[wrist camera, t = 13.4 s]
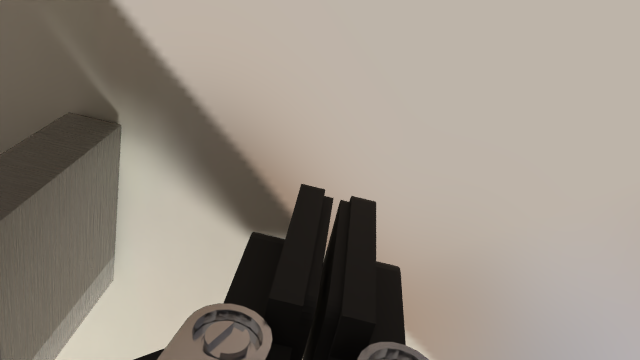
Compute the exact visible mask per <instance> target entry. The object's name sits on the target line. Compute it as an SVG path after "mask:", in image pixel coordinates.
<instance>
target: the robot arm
mask: <svg viewBox="0 0 640 360" xmlns="http://www.w3.org/2000/svg"><path fill="white" fill-rule="evenodd" d="M324 193H325V189H320V188H316V187H312V186H308V185H304V184H301V187H300V191H299V194H298V197H297V201H296V204H295V208H294V211H293V215H292V218H291V222H290V225H289V229H288V232H287V236H286V239H281V238H277V237H273V236H269V235H265V234H261V233H256V232H252V234H251V236H250V239H249V241H248V244H247V246H246V249H245V251H244V254H243V256H242V259H241V261H240V263H239V266H238V268H237V271H236V273H235V276H234V278H233V281H232V283H231V286H230V288H229V291H228V293H227V296H226V298H225V301H224V303H223V304H220V303H218V304H213V305H209V306H205V307H203V308H201V309H199V310H197V311H195V312H194V313H193V314H192V315H191V316H190V317H189V318H187V320H186V321H185V322H184V324H183V325H182V326H181V328H180V329H179V330H178V332H177V333H176V334H175V336H174V337H173V339H172V340H171V341H170V343H169V344H168V345H167V347H166V348H165V349H162V350H159V351H156V352H154V353H151V354H148V355H145V356H142V357H140V358H137V359H134V360H302V358H303V360H429V359H428V358H426V357H425V356H424V355H422V354H421V353H420V352H418V351H417V350H414V349H412V348H410V347H408V346H406V344H405V330H404V315H403V301H402V287H401V272H400V268H399V267H398V266H394V265H390V264H385V263H381V262H377V261H376V202H374V201H370V200H366V199H362V198H358V197H354V196H352V197H351V198H350V201H349V202H347V201H343V200H341V201H340V204H339V207H338V211H337V214H336V218H335V222H334V226H333V229H332V233H331V236H330V240H329V244H328V247H327V251H326V255H325V248H326V242H327V235H328V229H329V223H330V216H331V210H332V203H333V198H330V197H326V196H324ZM324 255H325V258H324ZM323 261H324V262H323Z"/></svg>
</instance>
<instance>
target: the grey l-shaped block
mask: <svg viewBox="0 0 640 360" xmlns="http://www.w3.org/2000/svg"><path fill="white" fill-rule="evenodd" d="M120 142H121V125H120V124H115V123H111V122H107V121H103V120H99V119H95V118H90V117H86V116H82V115H78V114H74V113H67V114H66V115H64V116H63V117H61V118H59V119H58V120H56V121H54V122H53V123H51V124H50V125H48V126H46V127H45V128H43V129H41V130H40V131H38V132H37V133H35V134H33V135H32V136H30V137H28V138H27V139H25V140H24V141H22V142H20V143H19V144H17V145H16V146H14V147H12V148H11V149H9V150H7V151H6V152H4V153H3V154H1V155H0V360H55V358H56V357H57V355H58V354H59V353H60V351H61V350H62V349H63V347H64V346H65V345H66V343H67V342H68V341H69V339H70V338H71V336H72V335H73V334H74V332H75V331H76V330H77V328H78V327H79V326H80V324H81V323H82V322H83V320H84V319H85V317H86V316H87V315H88V313H89V312H90V311H91V309H92V308H93V307H94V305H95V304H96V303H97V301H98V300H99V298H100V297H101V296H102V294H103V293H104V292H105V290H106V289H107V288H108V286H109V285H110V284H111V282H112V281H113V274H114V256H115V237H116V218H117V199H118V180H119V161H120Z"/></svg>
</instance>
